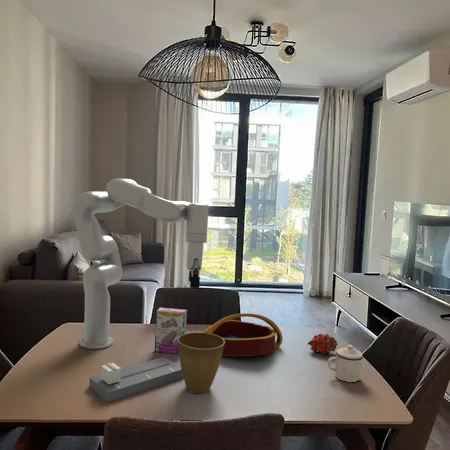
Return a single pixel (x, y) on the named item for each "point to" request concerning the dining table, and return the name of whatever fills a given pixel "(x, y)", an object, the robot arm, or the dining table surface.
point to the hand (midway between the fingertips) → (193, 284)
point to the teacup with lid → (347, 364)
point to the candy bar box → (169, 329)
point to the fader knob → (110, 373)
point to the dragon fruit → (323, 343)
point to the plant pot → (199, 359)
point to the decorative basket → (246, 336)
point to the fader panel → (137, 379)
